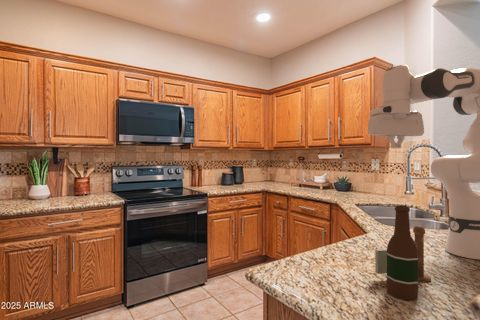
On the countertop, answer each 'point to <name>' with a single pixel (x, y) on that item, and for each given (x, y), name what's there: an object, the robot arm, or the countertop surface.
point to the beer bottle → (402, 259)
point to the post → (420, 253)
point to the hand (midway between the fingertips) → (396, 148)
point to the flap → (381, 261)
